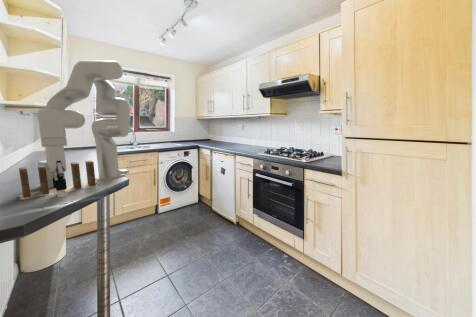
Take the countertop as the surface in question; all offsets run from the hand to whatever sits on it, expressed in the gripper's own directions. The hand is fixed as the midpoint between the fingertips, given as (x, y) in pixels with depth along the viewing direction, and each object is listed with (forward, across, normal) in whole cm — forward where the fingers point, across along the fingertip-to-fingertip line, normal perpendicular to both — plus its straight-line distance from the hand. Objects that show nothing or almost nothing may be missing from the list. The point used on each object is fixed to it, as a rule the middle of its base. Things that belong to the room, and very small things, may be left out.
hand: (60, 187), depth 88 cm
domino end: (+3, -9, -9) cm, 13 cm away
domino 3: (+3, -9, +7) cm, 12 cm away
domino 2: (+4, 0, 0) cm, 4 cm away
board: (+4, -9, +2) cm, 10 cm away
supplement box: (+4, -21, 0) cm, 22 cm away
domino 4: (+3, -9, +13) cm, 16 cm away
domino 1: (+3, -9, -4) cm, 10 cm away
